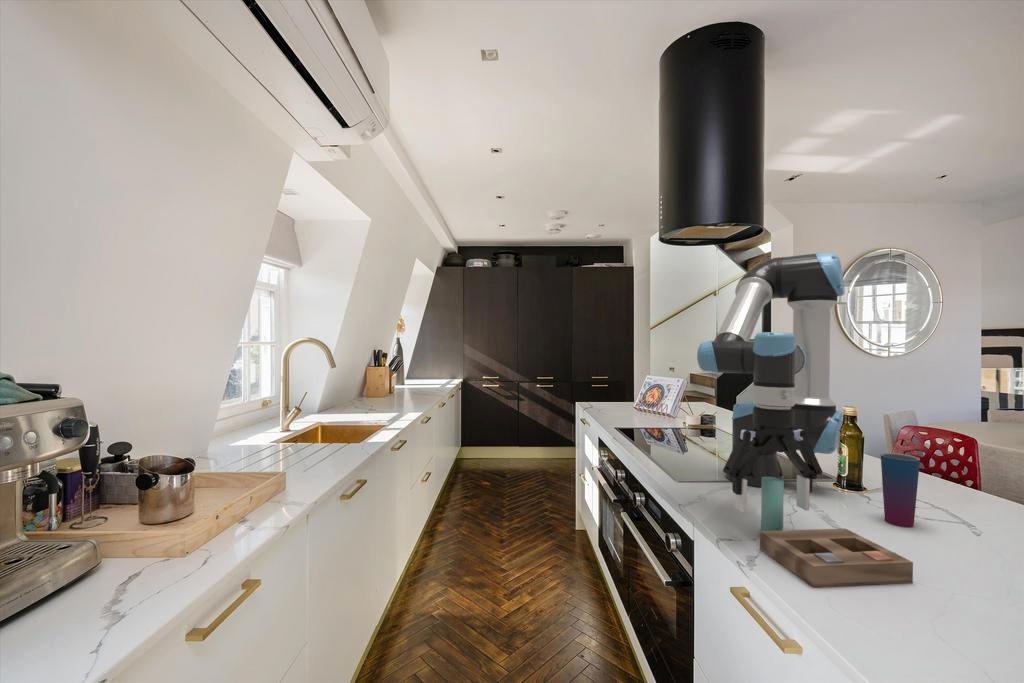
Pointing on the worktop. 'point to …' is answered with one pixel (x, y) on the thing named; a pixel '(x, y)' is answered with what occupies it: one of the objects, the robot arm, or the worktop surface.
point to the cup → (899, 488)
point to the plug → (772, 504)
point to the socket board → (835, 557)
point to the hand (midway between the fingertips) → (772, 509)
